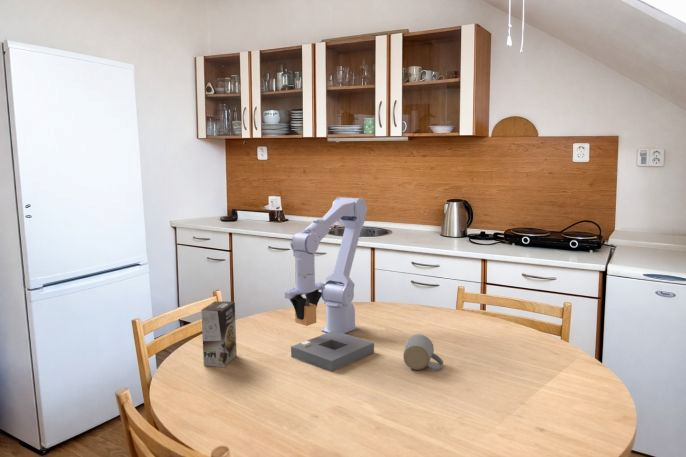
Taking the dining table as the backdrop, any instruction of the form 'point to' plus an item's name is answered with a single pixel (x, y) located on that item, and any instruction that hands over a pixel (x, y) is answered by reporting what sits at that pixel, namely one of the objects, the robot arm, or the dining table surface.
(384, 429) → the dining table surface
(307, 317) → the plug
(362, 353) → the socket plate
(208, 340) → the coffee box
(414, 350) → the ceramic mug
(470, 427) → the dining table surface
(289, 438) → the dining table surface
